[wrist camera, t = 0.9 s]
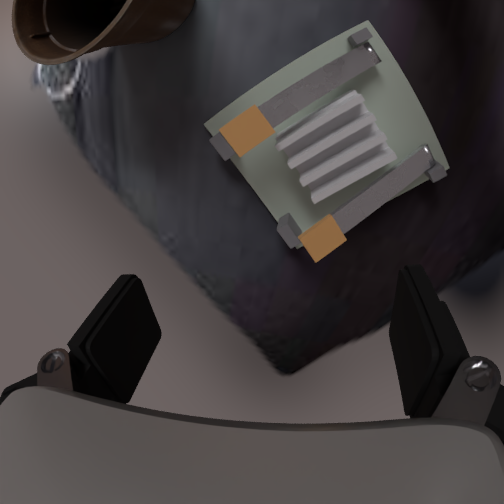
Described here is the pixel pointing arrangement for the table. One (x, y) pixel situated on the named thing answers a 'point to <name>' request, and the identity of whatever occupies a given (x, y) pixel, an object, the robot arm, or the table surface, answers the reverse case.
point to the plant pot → (91, 25)
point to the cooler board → (331, 136)
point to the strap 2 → (364, 203)
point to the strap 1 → (295, 99)
